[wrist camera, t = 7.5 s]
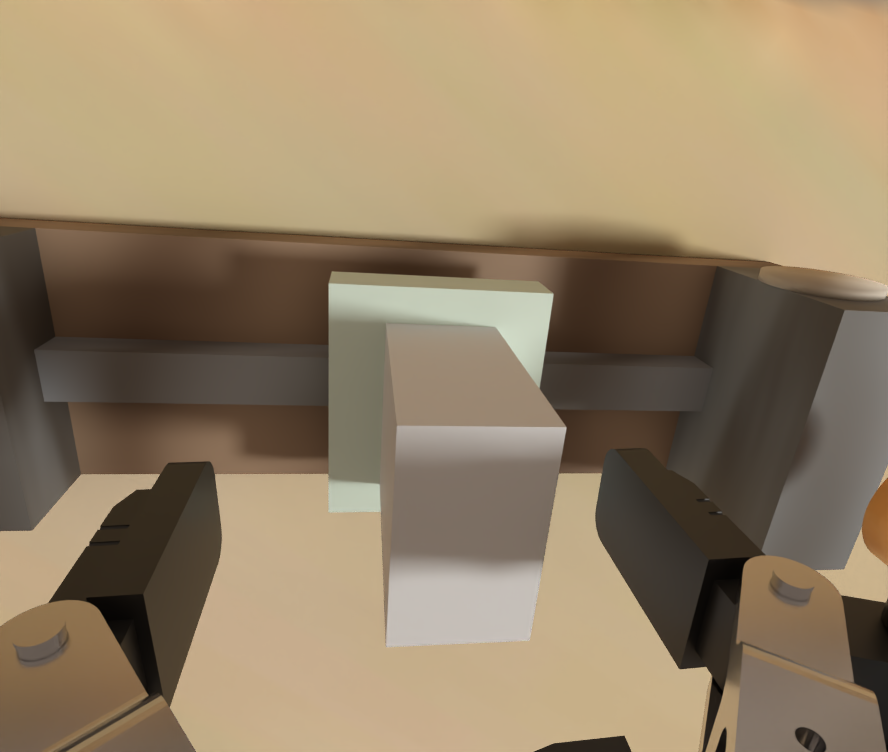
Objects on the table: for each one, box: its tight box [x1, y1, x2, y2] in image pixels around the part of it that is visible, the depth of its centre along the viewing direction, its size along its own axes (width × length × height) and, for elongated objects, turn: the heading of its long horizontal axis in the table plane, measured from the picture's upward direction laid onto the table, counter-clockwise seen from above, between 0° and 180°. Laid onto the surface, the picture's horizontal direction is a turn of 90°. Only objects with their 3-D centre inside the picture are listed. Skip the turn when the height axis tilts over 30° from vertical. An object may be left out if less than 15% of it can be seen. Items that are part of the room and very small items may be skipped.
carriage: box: [329, 271, 567, 647], centre depth 14 cm, size 6×7×8 cm
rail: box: [0, 218, 888, 570], centre depth 17 cm, size 27×8×7 cm, turn 86°
